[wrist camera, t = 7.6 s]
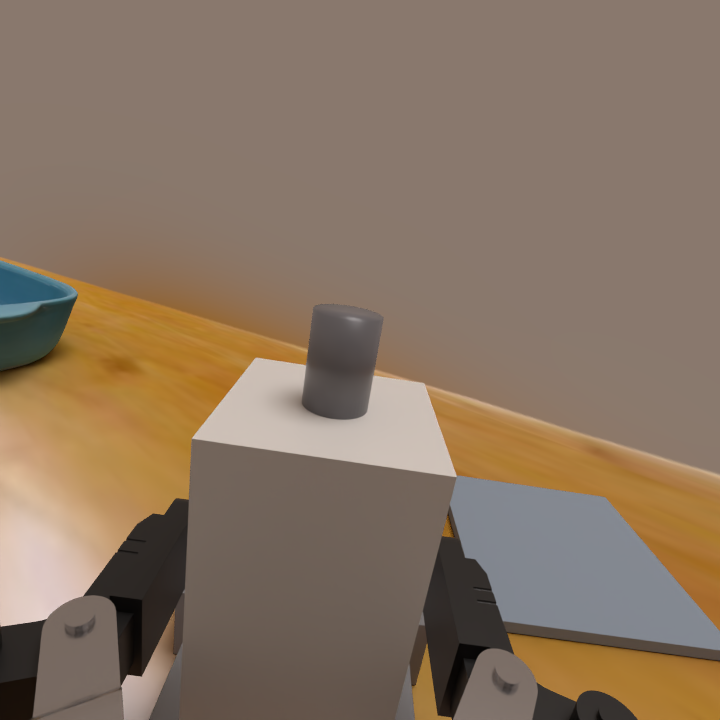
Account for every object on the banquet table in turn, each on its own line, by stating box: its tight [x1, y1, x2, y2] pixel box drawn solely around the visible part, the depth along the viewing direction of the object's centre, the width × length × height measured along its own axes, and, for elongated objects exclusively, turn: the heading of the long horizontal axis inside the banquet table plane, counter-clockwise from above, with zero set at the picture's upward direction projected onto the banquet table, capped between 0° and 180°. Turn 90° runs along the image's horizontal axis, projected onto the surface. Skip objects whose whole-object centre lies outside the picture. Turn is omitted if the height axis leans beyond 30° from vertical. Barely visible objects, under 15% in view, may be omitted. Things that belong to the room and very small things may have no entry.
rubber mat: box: [448, 476, 720, 661], centre depth 26 cm, size 12×12×1 cm
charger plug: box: [179, 304, 457, 720], centre depth 11 cm, size 4×4×15 cm
